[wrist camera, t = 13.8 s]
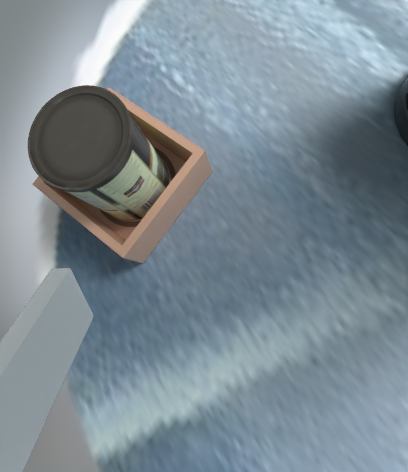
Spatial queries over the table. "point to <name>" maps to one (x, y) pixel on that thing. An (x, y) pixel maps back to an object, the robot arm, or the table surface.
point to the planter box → (167, 205)
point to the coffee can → (97, 153)
